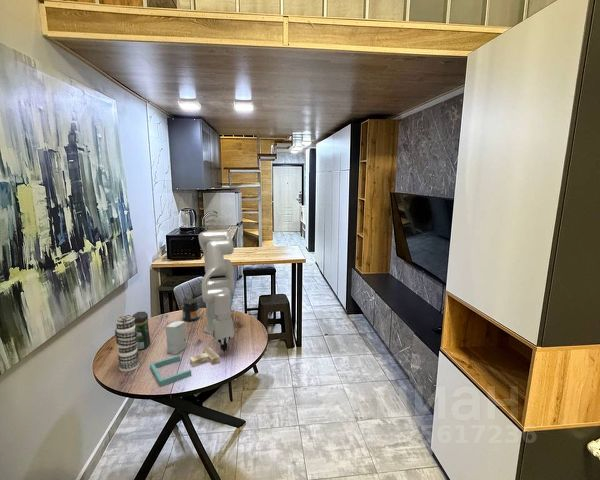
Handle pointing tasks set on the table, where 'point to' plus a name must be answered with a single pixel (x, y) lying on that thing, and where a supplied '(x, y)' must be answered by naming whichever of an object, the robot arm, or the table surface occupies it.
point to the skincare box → (176, 337)
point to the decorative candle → (127, 343)
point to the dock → (172, 378)
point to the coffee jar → (142, 330)
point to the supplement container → (190, 310)
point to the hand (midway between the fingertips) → (224, 350)
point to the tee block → (205, 358)
